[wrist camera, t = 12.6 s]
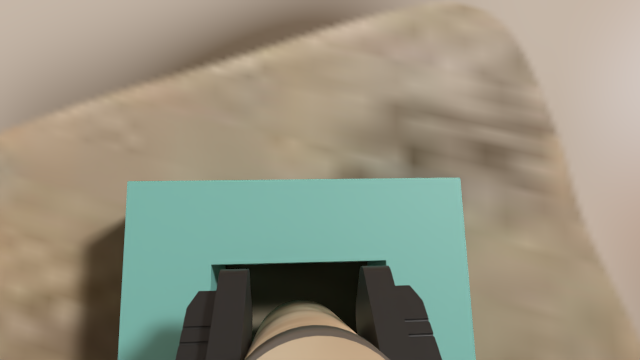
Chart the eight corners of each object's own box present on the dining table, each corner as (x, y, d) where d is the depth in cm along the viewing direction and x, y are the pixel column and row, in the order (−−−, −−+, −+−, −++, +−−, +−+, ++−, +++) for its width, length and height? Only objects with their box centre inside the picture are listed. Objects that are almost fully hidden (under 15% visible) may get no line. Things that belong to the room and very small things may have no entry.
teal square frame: (144, 507, 16) (106, 572, 13) (157, 197, 18) (127, 181, 15) (449, 487, 17) (491, 543, 13) (428, 193, 19) (460, 177, 15)
